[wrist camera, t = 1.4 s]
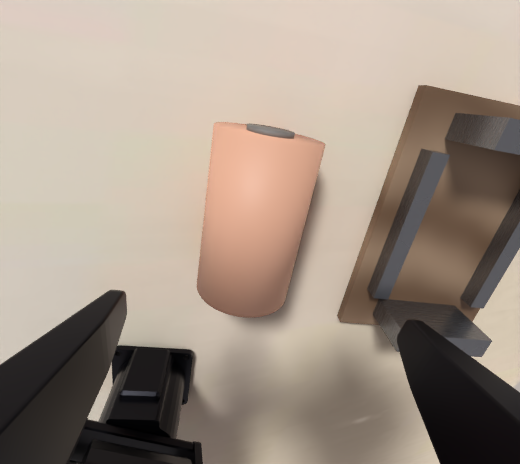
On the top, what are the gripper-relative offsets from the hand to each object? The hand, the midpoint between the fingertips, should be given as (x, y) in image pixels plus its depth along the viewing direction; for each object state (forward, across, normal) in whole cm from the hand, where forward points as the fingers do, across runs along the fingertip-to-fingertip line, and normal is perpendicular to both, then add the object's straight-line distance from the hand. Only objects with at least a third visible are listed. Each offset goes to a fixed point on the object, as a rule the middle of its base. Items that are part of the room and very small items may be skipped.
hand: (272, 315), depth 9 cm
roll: (+12, 0, +2) cm, 12 cm away
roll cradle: (+12, -15, +2) cm, 20 cm away
